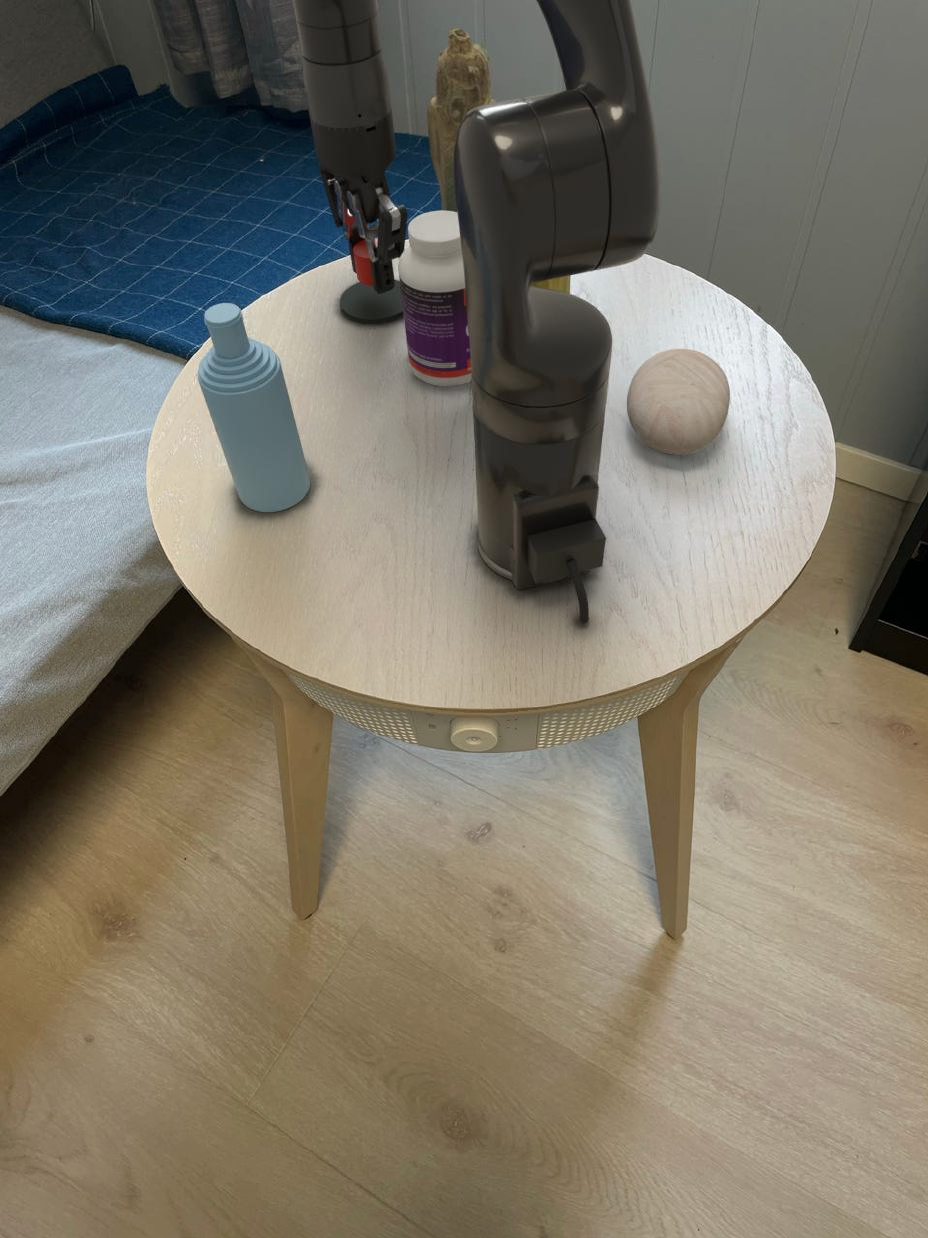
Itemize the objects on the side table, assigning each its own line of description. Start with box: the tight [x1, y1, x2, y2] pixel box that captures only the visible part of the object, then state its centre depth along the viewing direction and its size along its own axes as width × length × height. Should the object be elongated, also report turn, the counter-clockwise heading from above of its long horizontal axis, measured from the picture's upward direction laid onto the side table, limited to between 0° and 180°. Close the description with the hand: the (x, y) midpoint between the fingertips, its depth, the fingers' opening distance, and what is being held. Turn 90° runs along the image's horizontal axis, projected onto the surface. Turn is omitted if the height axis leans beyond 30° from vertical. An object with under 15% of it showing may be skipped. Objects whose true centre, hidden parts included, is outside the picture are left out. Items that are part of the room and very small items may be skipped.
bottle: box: [196, 302, 311, 513], centre depth 69 cm, size 6×6×17 cm
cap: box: [353, 237, 378, 286], centre depth 89 cm, size 4×4×3 cm
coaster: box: [339, 279, 404, 325], centre depth 93 cm, size 8×8×1 cm
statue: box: [426, 27, 497, 212], centre depth 84 cm, size 7×8×25 cm
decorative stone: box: [626, 348, 731, 455], centre depth 76 cm, size 13×9×5 cm
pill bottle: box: [397, 210, 472, 387], centre depth 80 cm, size 8×8×14 cm
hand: (374, 280), depth 91 cm, fingers closed on cap, 4 cm apart
